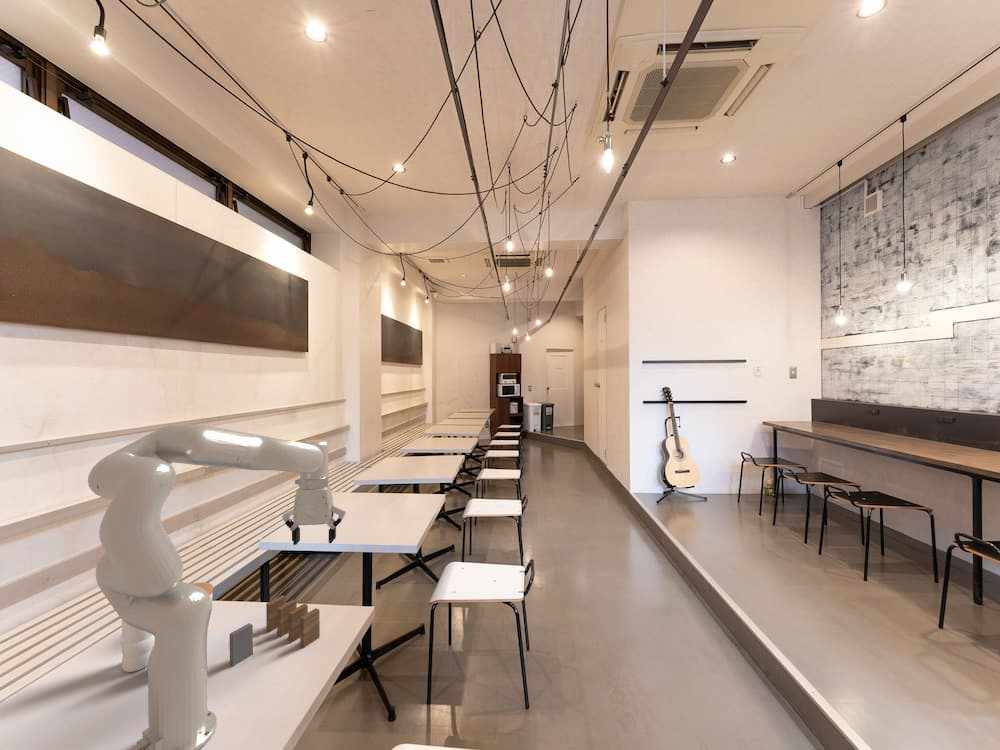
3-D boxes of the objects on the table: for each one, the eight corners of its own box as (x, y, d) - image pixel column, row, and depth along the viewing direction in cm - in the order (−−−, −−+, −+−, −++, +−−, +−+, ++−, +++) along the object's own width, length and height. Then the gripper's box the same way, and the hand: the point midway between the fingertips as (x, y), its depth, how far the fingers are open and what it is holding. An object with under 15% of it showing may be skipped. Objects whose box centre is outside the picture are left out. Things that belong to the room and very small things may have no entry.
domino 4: (307, 632, 118) (307, 605, 118) (292, 642, 114) (291, 614, 114) (304, 630, 119) (304, 603, 119) (288, 640, 115) (288, 612, 115)
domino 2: (285, 622, 123) (285, 596, 123) (269, 632, 119) (269, 604, 118) (282, 621, 124) (282, 595, 124) (266, 630, 119) (266, 603, 119)
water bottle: (116, 667, 104) (116, 570, 104) (150, 651, 111) (149, 559, 111) (129, 677, 101) (128, 576, 101) (163, 659, 107) (162, 565, 107)
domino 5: (319, 637, 116) (319, 609, 116) (304, 648, 112) (303, 619, 112) (315, 635, 117) (315, 608, 117) (300, 646, 112) (299, 617, 112)
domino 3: (296, 627, 121) (296, 600, 121) (280, 637, 116) (280, 609, 116) (293, 626, 121) (292, 599, 121) (277, 635, 117) (277, 607, 117)
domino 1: (252, 654, 109) (252, 624, 109) (233, 666, 105) (233, 635, 105) (249, 652, 110) (249, 623, 110) (229, 664, 105) (229, 633, 105)
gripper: (277, 487, 113) (277, 549, 113) (341, 485, 115) (341, 546, 115) (288, 480, 120) (288, 538, 120) (348, 479, 122) (348, 536, 122)
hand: (314, 542), depth 117 cm, fingers open, 9 cm apart
